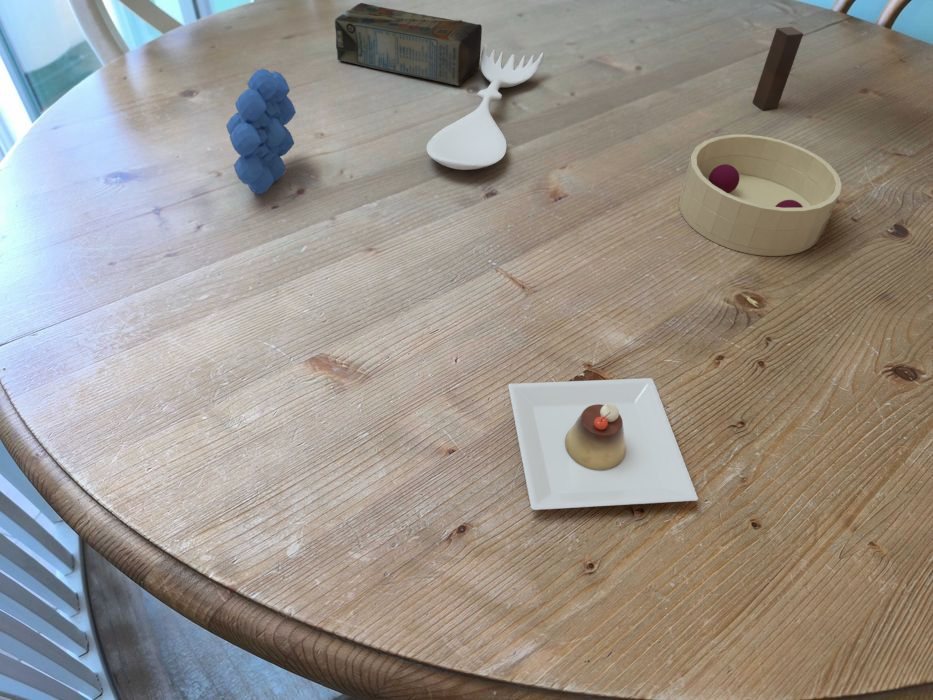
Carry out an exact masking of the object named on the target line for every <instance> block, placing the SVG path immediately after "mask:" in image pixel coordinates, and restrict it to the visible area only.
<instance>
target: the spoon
mask: <svg viewBox="0 0 933 700" xmlns="http://www.w3.org/2000/svg"><path fill="white" fill-rule="evenodd" d="M495 58H496V48H494V49H492V51H491V53H490V55H488V44H487V43H485V44H484V46H483V48H482V50H481V55H480V69H481V70H480V71H481V73H482V74H483V76H484V78H485V79H486V80H487V81H488V82H489V83H490V84H489V85H488V87H486V88H484V89H481V90H479V91H478V92H477V93H476V94H477V97H478V98H480V99H482V100H481V102H480V103H479V105H478V106H477V108H476V109H474V110H473V111H472V112H470V113H468V114H466V115H464V116H463V117H462V118H460V119H458V120H456V121H454V122H453V123H450V124H449V125H447V126H445V127H443V128H441V129H440V130H439V131H438V132H436V133H435V134H434V136H432V137H431V138H430V139H429V141H428V142H427V144H426V152H427V154H428V156H430V158H431V159H432V160H433V161H435V162H437V163H438V164H439V165H442V166H444V167H447V168H450V169H454V170H463V171H464V170H465V171H466V170H470V171H471V170H478V169H483V168H486V167H489V166H493V165H494V164H496V163H498V162H499V161H500V160H502V159H503V157H504V156H505V154H506V153H507V141H506V137H505V135H504V134H503V132H502V130H501V129H500V127H499V126H498V125H497V122H496V121H495V120H494V118H493V117H492V114H491V112H490V105H491V103H493V102H496V101H497V102H498V101H500V100H501V99H502V97H503V95H502V93H500V92H499V89H500V88H512V87H515V86H517V85H520V84H522V83H525V82H526V81H528V80H529V79H530V78H531V77H532V76H533V75H534V74H535V73H536V71H537V70H538V68H539V67H540V66H541V65H542V63H543V61H544V58H545V53H544V52H541V53H540V55H539V56H538V58H537V59H536V60H535V61H534V59H535V53H533V54H532V55H531V56H530V58H529V60H528V61H527V63H526V64H525V62H526V54H524V55H523V56H522V58H521V60H520V62H519V63H518V65H517V66H516V68H515V63H516V56H515V54H514V53H513V54H511V55H510V56H509V58H508V60H507V61H506V63H505V65H504V67H502V66H503V65H502V64H503V58H504V51H503V50H502V51H501V53H500V54H499V57H498V58H497V60H496V62H495Z"/></svg>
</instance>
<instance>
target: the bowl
mask: <svg viewBox="0 0 933 700" xmlns="http://www.w3.org/2000/svg"><path fill="white" fill-rule="evenodd" d="M724 164H727V165H731V166H733V167H734V168H735V169H736V170H737V171H738V173H739V183H738V186H737V187H736V188H735V189H734V190H733V191H732V192H730V193H726V192H725V191H723V190H721V189H720V188H718V187H716V186H715V185H713V184H712V183H711V182H710V181H709V176H710V173H711V172H712V170H713V169H714V168H716V167H717V166H719V165H724ZM842 186H843V184H842V181H841V178H840V175H839V173H838V172H837V170H835V169H834V167H832V165H831V164H830V163H828V161H826V160H825V159H823V158H822V157H820V156H819V155H817V154H816V153H814V152H812V151H810V150H808V149H806V148H805V147H802V146H800V145H797V144H794V143H791V142H789V141H786V140H781V139H778V138H774V137H770V136H764V135H755V134H743V133H742V134H739V133H737V134H734V133H733V134H726V135H719V136H715V137H712V138H709V139H706V140H703V141H702V142H701V143H700V144H698V145H696V146H695V148H694V149H693V152H692V153H691V155H690V158H689V162H688V165H687V168H686V172H685V176H684V178H683V183H682V187H681V191H680V195H679V201H678V206H679V207H678V208H679V211H680V213H681V216H682V217H683V219H684V221H685V222H686V223H687V225H689V226H690V227H691V228H692V229H693V230H694V231H695V232H697V233H698V234H699V235H700V236H702V237H704V238H705V239H707V240H709V241H710V242H712V243H715V244H717V245H719V246H721V247H724V248H726V249H729V250H733V251H735V252H740V253H744V254H749V255H755V256H761V257H762V256H763V257H784V256H791V255H795V254H801V253H802V252H805V251H808V250H809V249H810V248H812V247H814V245H816V244H817V243H818V241H819V240H820V239H821V236H822V234H823V233H824V231H825V230H826V226H827V224H828V222H829V220H830V218H831V215H832V213H833V211H834V209H835V206H836V205H837V203H838V200H839V198H840V195H841V192H842ZM784 200H795V201H797V202H799V203H800V204H801V205H802V206H803V207H801V208H781V207H775V206H776V205H777V204H778V203H780V202H782V201H784Z"/></svg>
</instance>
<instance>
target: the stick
mask: <svg viewBox="0 0 933 700" xmlns="http://www.w3.org/2000/svg"><path fill="white" fill-rule="evenodd" d="M774 31H775V32H774V34H773V35H774V36H773V37H772V41H771V44H770V47H769V51H768V53H767V56H766V59H765V63H764V66H763V69H762V70H761V71H762V72H761V75H760V78H759V81H758V85H757V87H756V90H755V93H754V96H753V99H752V104H753V105H755V106H756V107H757V108H759V109H760V110H761V111H767V110H775V109H778V108H779V105H780V102H781V99H782V96H783V93H784V90H785V87H786V84H787V83H788V79H789V76H790V73H791V70H792V67H793V65H794V63H795V59H796V56H797V54H798V53H797V52H798V51H799V48H800V45H801V42H802V39H803V36H804V33H803V32H801V31H800V30H798V29H797V28H795V27H793V26H784V27H776V29H775V30H774Z"/></svg>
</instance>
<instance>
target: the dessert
mask: <svg viewBox="0 0 933 700" xmlns="http://www.w3.org/2000/svg"><path fill="white" fill-rule="evenodd" d="M507 387H508V393H509V397H510V402H511V408H512V414H513V420H514V423H515V429H516V434H517V441H518V446H519V450H520V451H519V452H520V457H521V461H522V466H523V472H524V477H525V482H526V489H527V494H528V498H529V504H530V509H531V510H532V511H540V510H556V509H572V508H573V509H574V508H575V509H576V508H589V507H607V506H609V507H610V506H624V505H626V506H627V505H644V504H659V503H660V504H661V503H676V502H677V503H678V502H695V501H698V500H699V497H698V494H697V492H696V489H695V487H694V484H693V481H692V479H691V475H690V473H689V471H688V468H687V465H686V463H685V460H684V457H683V455H682V453H681V450H680V447H679V445H678V442H677V439H676V437H675V434H674V431H673V428H672V426H671V423H670V420H669V419H668V415H667V413H666V410H665V408H664V405H663V403H662V400H661V397H660V394H659V392H658V389H657V387H656V384H655V382H654V379H653V378H651V377H643V378H642V377H641V378H621V379H619V378H618V379H595V380H594V379H593V380H571V381H550V382H549V381H547V382H546V381H545V382H544V381H543V382H522V383H521V382H518V383H509V384H508V385H507Z"/></svg>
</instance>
